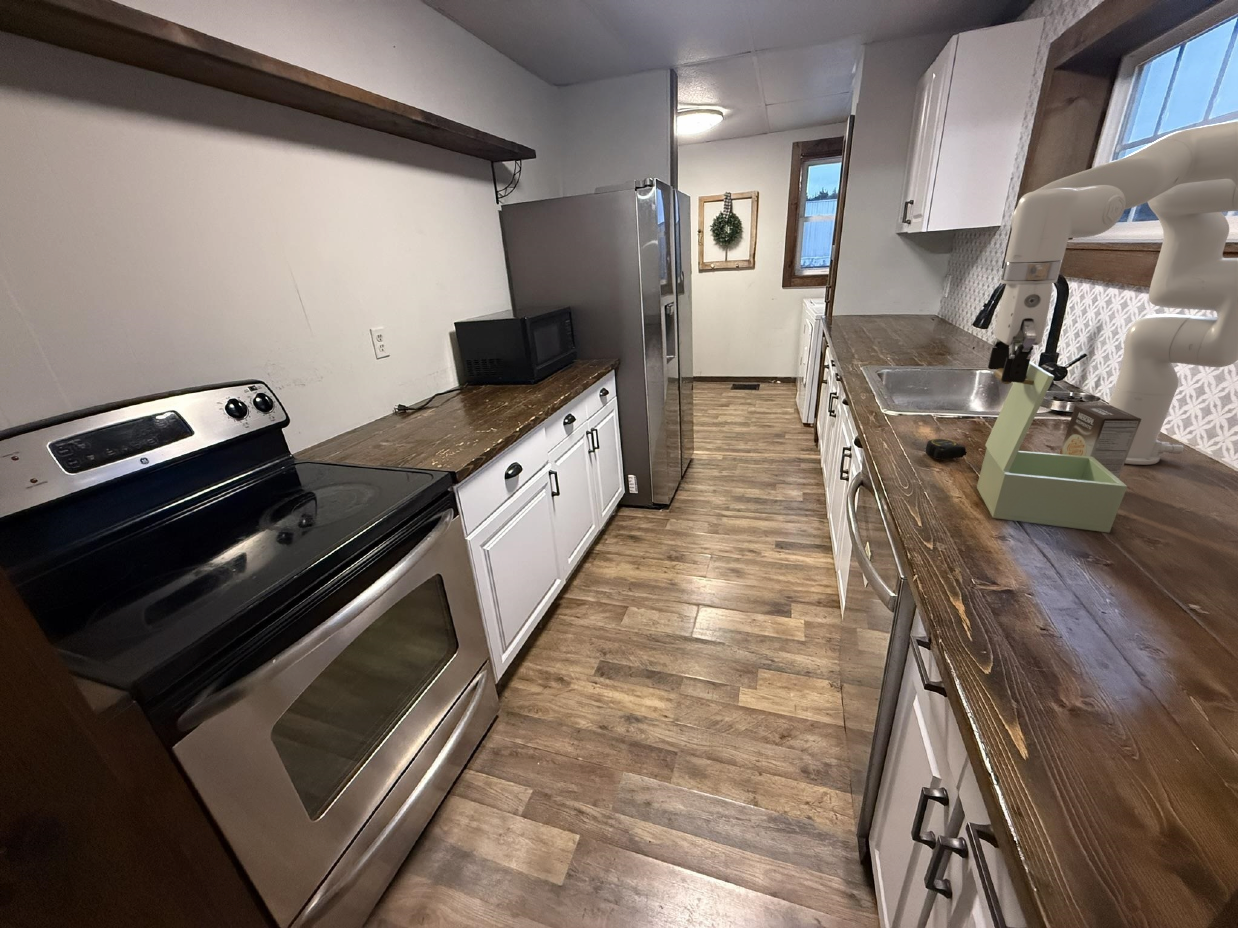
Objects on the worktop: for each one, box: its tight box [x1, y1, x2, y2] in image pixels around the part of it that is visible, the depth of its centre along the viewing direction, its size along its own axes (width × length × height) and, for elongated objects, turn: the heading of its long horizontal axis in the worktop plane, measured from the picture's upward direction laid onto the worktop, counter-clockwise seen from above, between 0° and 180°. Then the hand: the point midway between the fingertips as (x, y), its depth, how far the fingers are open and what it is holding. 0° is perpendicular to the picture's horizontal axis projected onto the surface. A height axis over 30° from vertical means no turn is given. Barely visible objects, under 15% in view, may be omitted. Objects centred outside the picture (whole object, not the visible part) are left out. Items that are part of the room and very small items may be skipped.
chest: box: [976, 448, 1128, 534], centre depth 93 cm, size 17×14×9 cm
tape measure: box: [925, 438, 968, 461], centre depth 118 cm, size 7×7×4 cm
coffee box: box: [1059, 404, 1142, 480], centre depth 99 cm, size 9×6×16 cm
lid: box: [984, 361, 1055, 472], centre depth 91 cm, size 18×14×6 cm
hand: (1004, 375), depth 89 cm, fingers open, 9 cm apart
